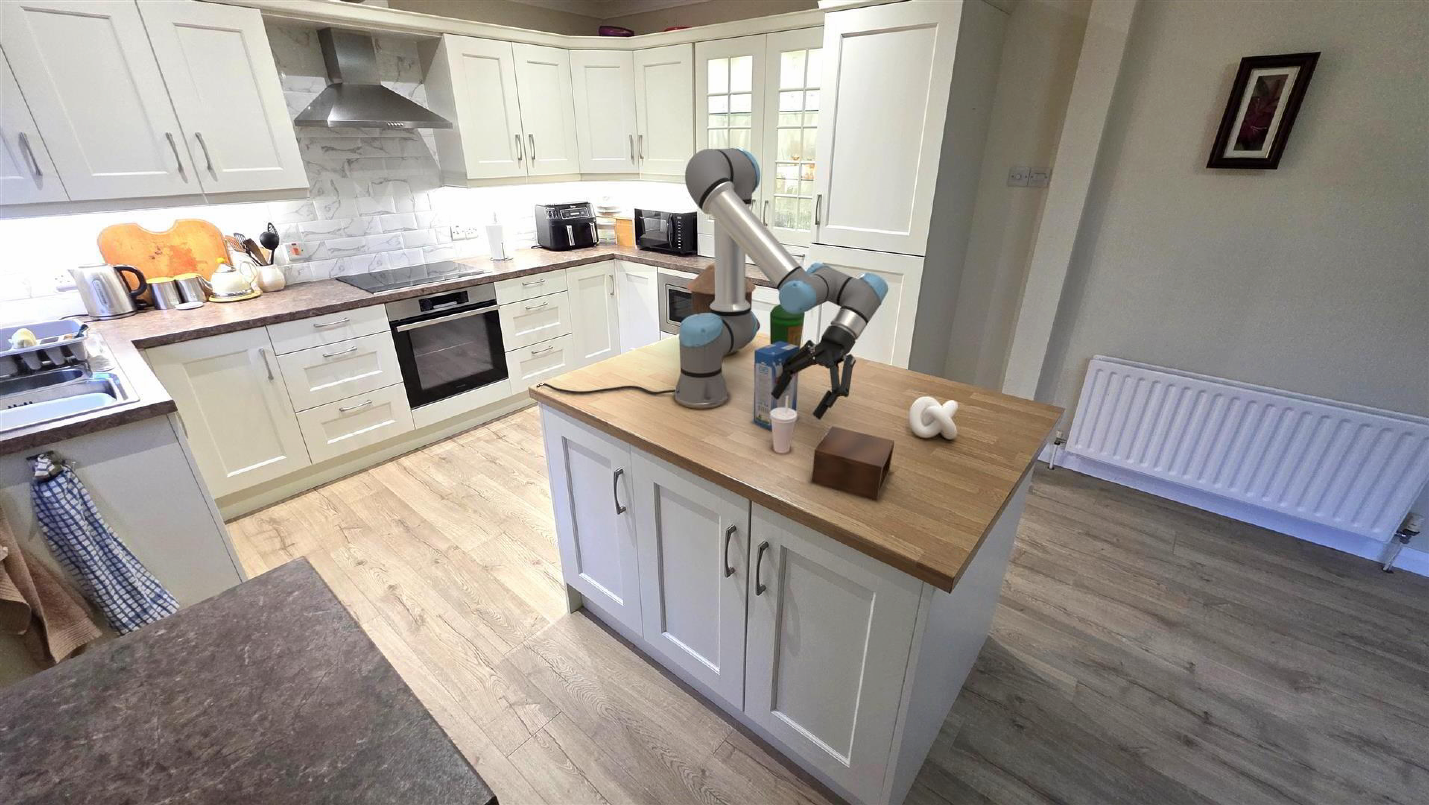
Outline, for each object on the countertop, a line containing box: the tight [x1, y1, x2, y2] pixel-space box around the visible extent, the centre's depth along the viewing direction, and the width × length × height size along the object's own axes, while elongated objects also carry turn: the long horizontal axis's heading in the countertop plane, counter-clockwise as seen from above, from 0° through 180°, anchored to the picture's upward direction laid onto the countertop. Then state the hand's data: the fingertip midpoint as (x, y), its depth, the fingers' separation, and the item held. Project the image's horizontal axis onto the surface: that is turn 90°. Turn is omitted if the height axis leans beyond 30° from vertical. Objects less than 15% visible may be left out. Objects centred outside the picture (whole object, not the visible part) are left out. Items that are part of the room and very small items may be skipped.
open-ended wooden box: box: [811, 425, 895, 501], centre depth 119 cm, size 14×12×8 cm
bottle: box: [769, 302, 806, 349], centre depth 170 cm, size 11×11×28 cm
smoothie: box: [770, 396, 798, 454], centre depth 128 cm, size 6×6×14 cm
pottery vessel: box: [685, 262, 761, 355], centre depth 186 cm, size 26×26×30 cm
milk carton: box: [753, 341, 799, 431], centre depth 140 cm, size 10×6×20 cm, turn 134°
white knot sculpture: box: [908, 396, 959, 440], centre depth 137 cm, size 11×12×9 cm
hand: (794, 406), depth 128 cm, fingers open, 13 cm apart
